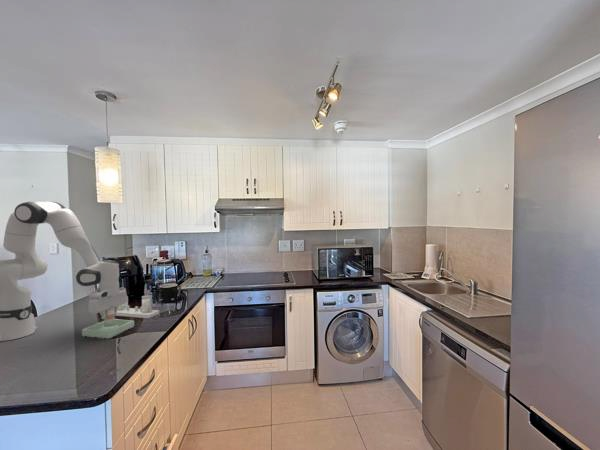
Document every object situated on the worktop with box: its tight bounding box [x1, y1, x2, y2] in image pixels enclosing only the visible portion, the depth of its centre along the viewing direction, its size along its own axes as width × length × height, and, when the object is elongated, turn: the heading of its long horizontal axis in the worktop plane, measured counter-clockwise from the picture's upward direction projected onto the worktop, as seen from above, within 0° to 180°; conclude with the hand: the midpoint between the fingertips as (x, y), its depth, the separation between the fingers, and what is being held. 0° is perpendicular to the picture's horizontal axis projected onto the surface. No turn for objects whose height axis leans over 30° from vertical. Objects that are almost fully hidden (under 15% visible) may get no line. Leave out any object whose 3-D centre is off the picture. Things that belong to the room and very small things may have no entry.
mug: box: [154, 283, 182, 304], centre depth 199 cm, size 16×16×12 cm
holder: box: [115, 305, 160, 319], centre depth 171 cm, size 32×9×5 cm, turn 79°
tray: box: [81, 318, 135, 340], centre depth 144 cm, size 16×16×4 cm
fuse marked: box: [104, 306, 116, 327], centre depth 144 cm, size 5×5×10 cm
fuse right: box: [141, 294, 151, 313], centre depth 169 cm, size 5×5×10 cm
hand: (109, 316), depth 144 cm, fingers closed on fuse marked, 5 cm apart
